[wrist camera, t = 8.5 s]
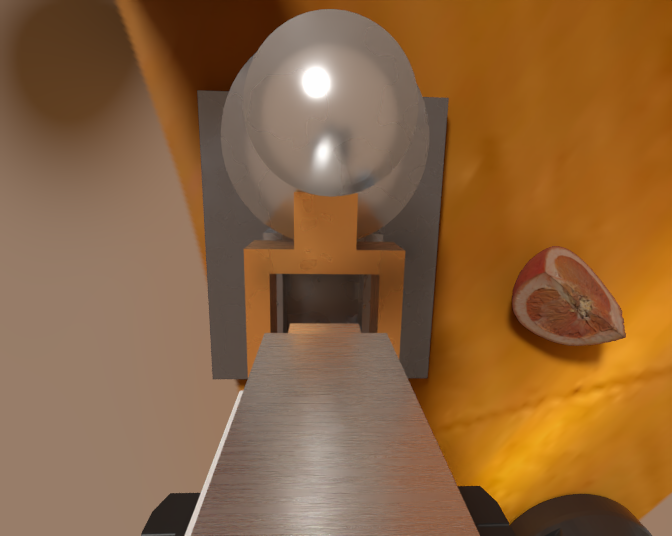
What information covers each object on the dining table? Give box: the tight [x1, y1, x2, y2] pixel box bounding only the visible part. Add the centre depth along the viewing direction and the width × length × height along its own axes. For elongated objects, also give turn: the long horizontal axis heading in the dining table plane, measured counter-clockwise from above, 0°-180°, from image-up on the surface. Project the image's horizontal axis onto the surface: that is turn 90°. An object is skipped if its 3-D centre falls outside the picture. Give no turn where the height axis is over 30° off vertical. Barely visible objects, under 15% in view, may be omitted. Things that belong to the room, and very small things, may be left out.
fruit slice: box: [512, 246, 626, 346], centre depth 29 cm, size 8×7×5 cm
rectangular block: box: [191, 323, 480, 536], centre depth 9 cm, size 6×4×15 cm, turn 179°
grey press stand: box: [197, 9, 448, 379], centre depth 20 cm, size 22×17×18 cm
